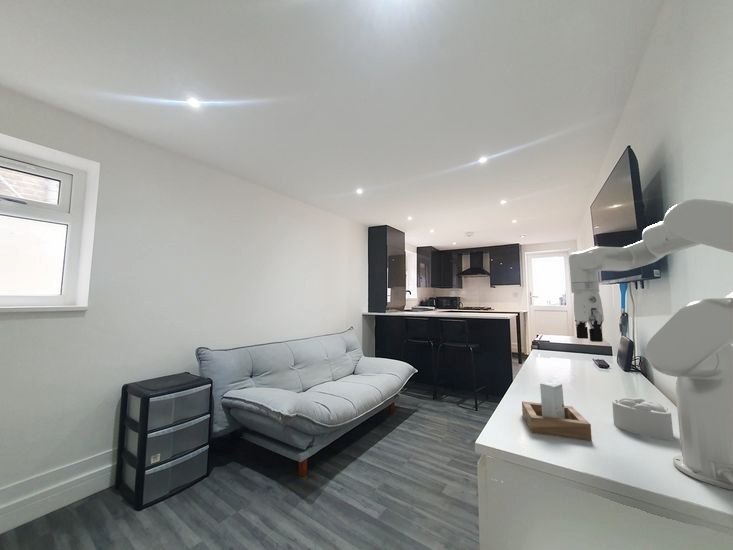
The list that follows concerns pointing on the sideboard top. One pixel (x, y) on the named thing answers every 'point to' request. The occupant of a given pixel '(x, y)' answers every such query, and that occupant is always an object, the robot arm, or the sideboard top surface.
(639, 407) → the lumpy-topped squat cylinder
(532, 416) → the square wooden tray
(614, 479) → the sideboard top surface
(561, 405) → the skincare box
